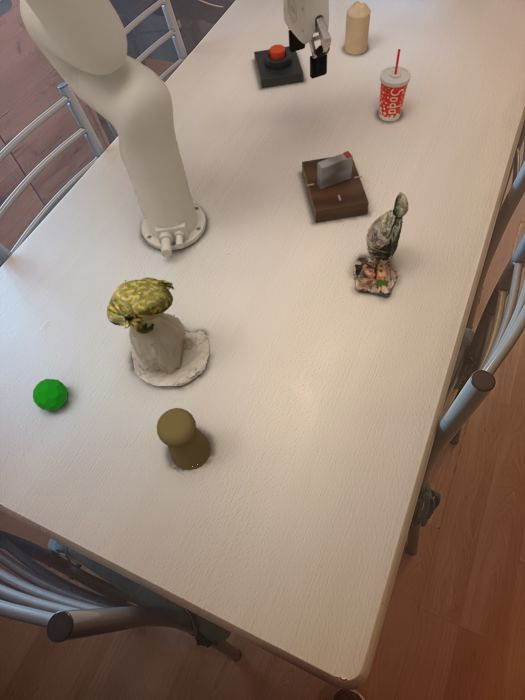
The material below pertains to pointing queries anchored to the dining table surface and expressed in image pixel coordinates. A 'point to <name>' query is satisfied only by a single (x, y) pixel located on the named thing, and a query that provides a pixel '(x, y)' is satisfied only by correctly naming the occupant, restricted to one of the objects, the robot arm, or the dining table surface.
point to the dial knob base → (334, 195)
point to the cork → (183, 439)
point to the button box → (278, 69)
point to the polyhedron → (50, 394)
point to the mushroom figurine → (157, 333)
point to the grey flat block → (334, 170)
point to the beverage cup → (392, 91)
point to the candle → (357, 28)
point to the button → (277, 52)
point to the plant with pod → (381, 251)
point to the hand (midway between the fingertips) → (307, 62)
